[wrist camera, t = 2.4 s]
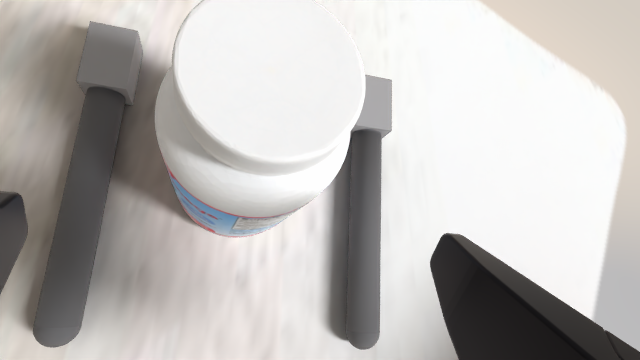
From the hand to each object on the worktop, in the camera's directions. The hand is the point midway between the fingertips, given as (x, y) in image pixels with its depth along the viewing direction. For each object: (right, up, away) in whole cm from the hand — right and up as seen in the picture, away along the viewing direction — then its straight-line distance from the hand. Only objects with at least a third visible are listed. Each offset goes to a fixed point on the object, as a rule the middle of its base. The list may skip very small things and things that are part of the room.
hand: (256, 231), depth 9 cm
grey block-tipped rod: (+4, 0, +12) cm, 13 cm away
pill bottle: (-3, +1, +11) cm, 12 cm away
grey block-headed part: (-9, +1, +9) cm, 13 cm away
